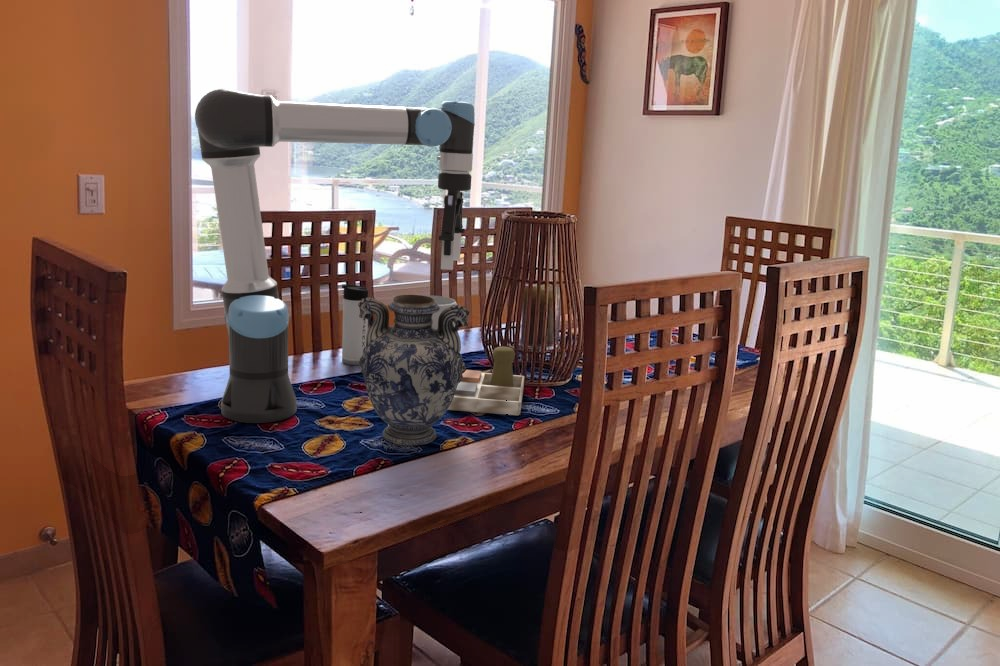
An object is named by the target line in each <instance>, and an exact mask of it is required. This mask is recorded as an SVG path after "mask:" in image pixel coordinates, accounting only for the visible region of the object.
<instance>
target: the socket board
mask: <svg viewBox="0 0 1000 666" xmlns="http://www.w3.org/2000/svg"><path fill="white" fill-rule="evenodd" d="M462 375H463V378H462V379H461V381H460V383H458V385H457V389H456V392H455V395H454V398H453V400H452V402H451V404H450V406H449V408H448V409H447V411H460V412H470V413H482V414H483V413H484V414H496V415H506V414H508V415H509V416H519V415H520V416H521V410H522V403H523V395H524V388H525V387H524V386H525V375H517V374H513V385H514V387H505V386H492V385H490V382H491V377H492V373H491V372H482V370H472V369H466V371H465V372H464V373H463V374H462ZM506 400H507V401H506ZM508 415H507V416H508Z"/></svg>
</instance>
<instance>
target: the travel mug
mask: <svg viewBox="0 0 1000 666" xmlns="http://www.w3.org/2000/svg"><path fill="white" fill-rule="evenodd" d="M341 289H343V291H342V292H343V293H342V294H343V296H342V298H343V299H342V336H341V337H342V339H341V340H342V343H341V344H342V348H341V350H342V351H341V352H342V353H341V355H342V356H341V362H342V363H343V364H345V365H348V366H360V365H359V361H360V358H361V356H362V355H363V349H364V347H366V334H367V331H368V328H369V326H368V325H369V324H368V320H367V319H363V318H360V317H359V314H360V308H359V306H358V303H359V302H361V299H362V298H364V299H366V298H367V297H369V289H367V287H365V286H360V285H355V284H342V285H341Z"/></svg>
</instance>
